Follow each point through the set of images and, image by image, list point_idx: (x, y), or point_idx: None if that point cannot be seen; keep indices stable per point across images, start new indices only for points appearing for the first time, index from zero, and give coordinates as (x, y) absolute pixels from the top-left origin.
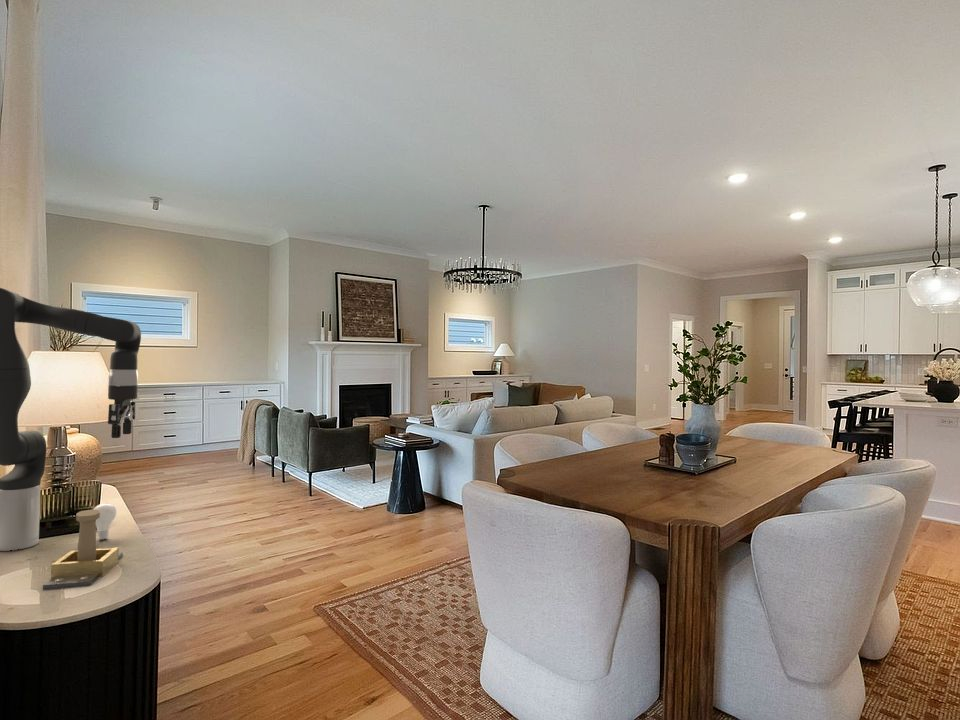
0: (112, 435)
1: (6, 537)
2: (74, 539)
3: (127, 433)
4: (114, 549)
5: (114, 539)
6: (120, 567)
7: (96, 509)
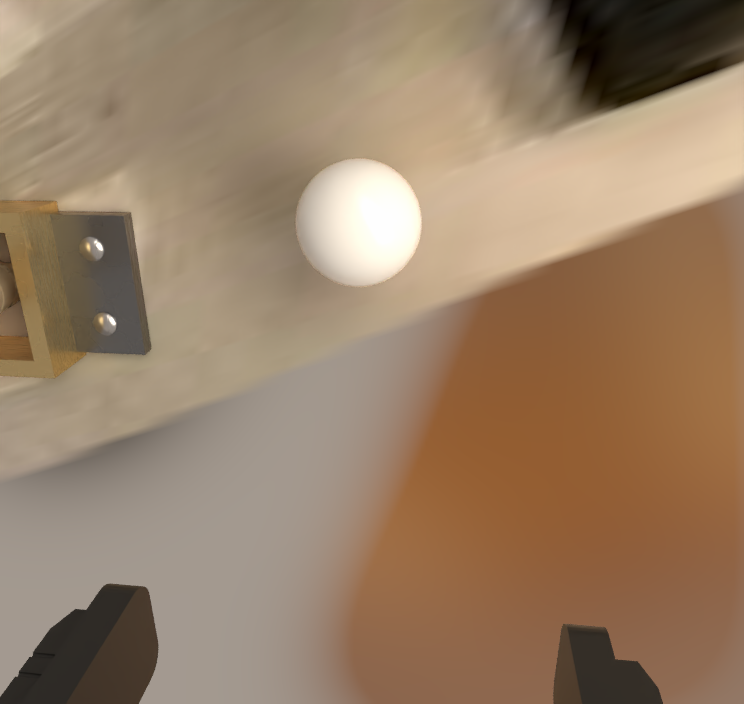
0: (60, 623)
1: None
2: (413, 48)
3: (560, 676)
4: (33, 370)
5: None
6: None
7: (307, 207)
